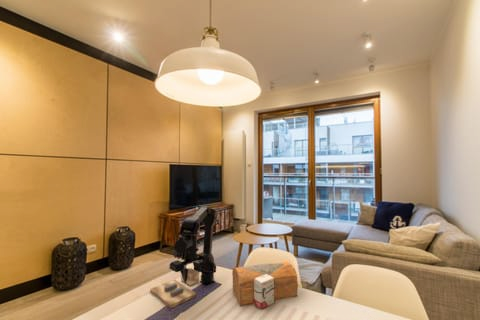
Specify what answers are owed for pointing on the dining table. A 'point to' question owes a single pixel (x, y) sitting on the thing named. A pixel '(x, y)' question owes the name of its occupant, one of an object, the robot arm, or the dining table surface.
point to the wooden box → (245, 275)
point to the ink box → (263, 291)
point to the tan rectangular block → (191, 277)
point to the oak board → (169, 299)
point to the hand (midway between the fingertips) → (190, 280)
